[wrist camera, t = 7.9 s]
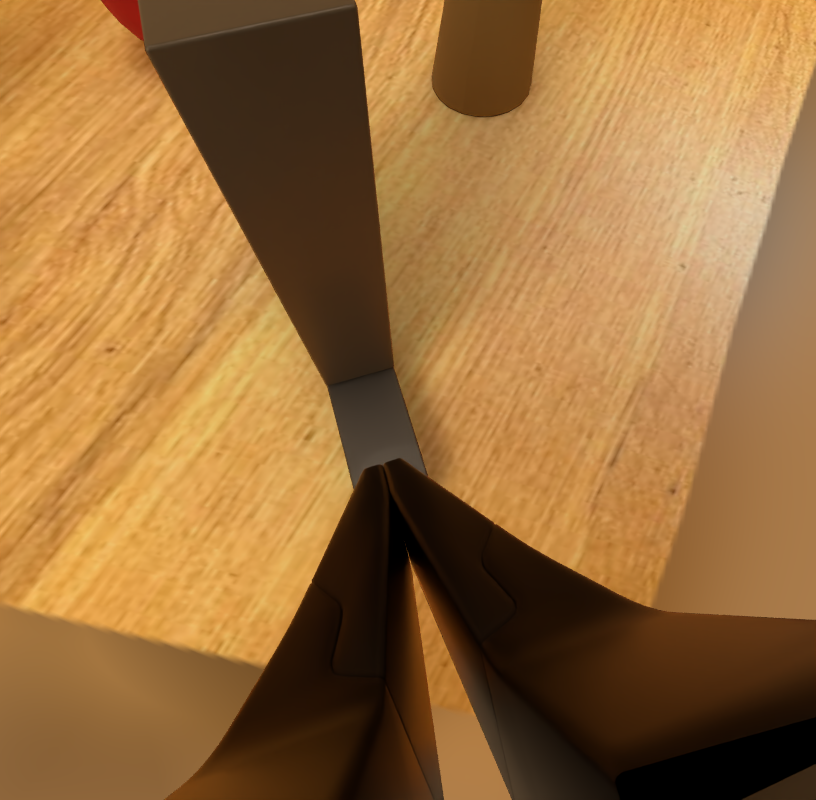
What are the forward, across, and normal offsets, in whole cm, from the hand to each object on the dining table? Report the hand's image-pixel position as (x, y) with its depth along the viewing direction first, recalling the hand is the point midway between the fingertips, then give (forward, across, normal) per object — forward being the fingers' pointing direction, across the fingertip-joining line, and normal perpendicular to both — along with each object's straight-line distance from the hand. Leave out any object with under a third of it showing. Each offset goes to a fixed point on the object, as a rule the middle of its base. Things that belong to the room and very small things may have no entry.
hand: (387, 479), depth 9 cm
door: (+13, 0, -2) cm, 13 cm away
